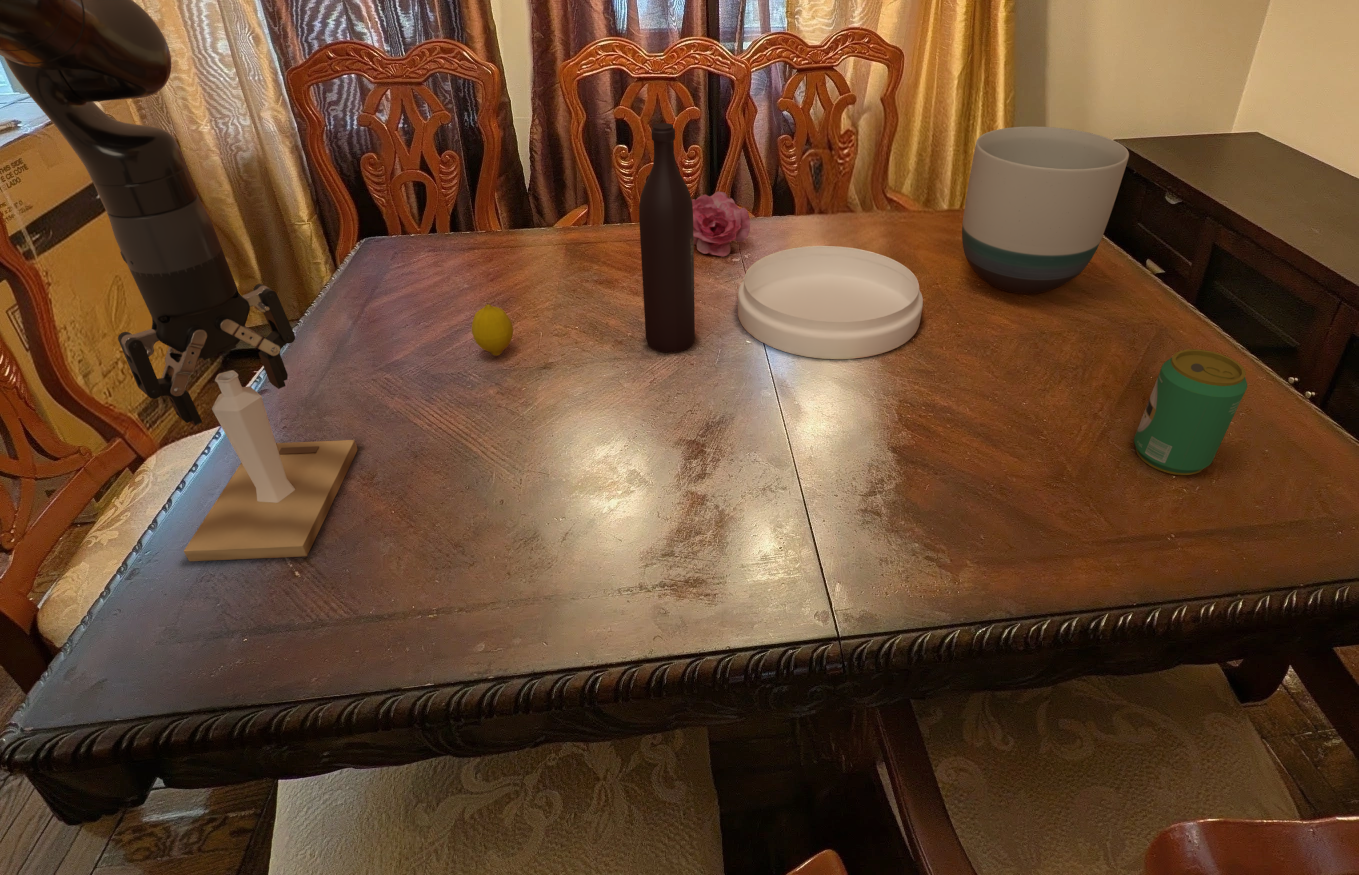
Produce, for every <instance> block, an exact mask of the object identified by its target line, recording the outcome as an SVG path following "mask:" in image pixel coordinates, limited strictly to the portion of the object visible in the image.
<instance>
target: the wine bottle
mask: <svg viewBox="0 0 1359 875" xmlns="http://www.w3.org/2000/svg"><path fill="white" fill-rule="evenodd" d="M650 133H651V141H653V162H652V167H651V170H650V172H649V174H648V177H647V179H646V180H645V183H644V186H643V187H642V191H641V193H640V198H639V205H638V211H639V212H638V221H639V223H638V224H639V240H640V255H641V256H640V257H641V275H642V277H641V278H642V293H643V294H642V295H643V311H644V325H645V326H644V328H645V329H644V330H645V340H646V343H647V345H648V347H649V348H650V349H652V350H654V351H657V352H661V353H678V352H682V351H685V350H687V349H689V348H691V347H692V346H693V344H694V342H695V340H696V317H695V314H696V312H695V306H696V305H695V247H694V236H693V206H692V200H693V199H692V196H691V193H690V190H689V187H688V185H687V183H686V182H685V180H684V178H683V176H682V175H681V172H680V170H679V168H678V166H677V164H676V156H675V144H674V142H675V140H676V129H675V128H674V124H672V123H668V122H659V123H656V124H653V125H652V129H651V132H650Z"/></svg>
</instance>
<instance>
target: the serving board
mask: <svg viewBox="0 0 1359 875" xmlns="http://www.w3.org/2000/svg"><path fill="white" fill-rule="evenodd" d="M276 445H277V449H278V452H279V455H280V458H281V462H282V465H283V468H284V471H285V474H286V478H287V479H288V481H289V482H290V483H291V484H292V486H293V487H294V488H295V490H294V491H293V492H292V493H290V494H289V495H288V496H286V497H285V498H284V499H282V500H281V501H280V502H278V503H272V502H259V501H257V494H256V487H255V485H254V484H253V482H252V480H251V478H250V477H249V475H248V473H247V471H246V469H245V468H244V466H243V464H242V462H241V461H240V462H241V463H240V464H239V465H238V467H237V468H236V470H235V472H234V473H233V475H232V476H231V477H230V479H229V481H228V482H227V484H226V485H225V486H224V488H223V490H222V491H221V492H220V495H219V496H218V497H217V499H216V500H215V502H214V503H213V505H212V507H211V508H210V510H209V511H208V513H207V514H206V516H205V517H204V519H203V521H202V522H201V524H200V525H199V527H198V528H197V530H196V532H195V533H194V534H193V535H192V537H191V539H189V540H190V541H189V542H188V543H187V544H186V546H185V547H184V549H183V553H184V555H185V557H186V558H187V560H188V562H208V561H233V560H253V559H277V558H278V559H279V558H299V557H300V558H301V557H308V555H309V553H310V551H311V549H312V547H313V544H314V543H315V540H316V538H317V537H318V534H319V532H320V530H321V528H322V526H323V524H324V522H325V519H326V517H327V515H328V514H329V511H330V509H331V507H332V504H333V503H334V501H335V498H336V497H337V494H338V492H339V490H340V488H341V486H342V484H343V482H344V480H345V477H346V475H347V473H348V471H349V469H350V467H351V465H352V463H353V461H354V459H355V456H356V454H357V452H358V445H357V443H356V440H355V439H344V440H321V441H320V440H319V441H318V440H317V441H316V440H315V441H295V442H291V441H290V442H276Z"/></svg>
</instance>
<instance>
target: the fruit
mask: <svg viewBox="0 0 1359 875" xmlns="http://www.w3.org/2000/svg"><path fill="white" fill-rule="evenodd" d="M471 333H472V338H473V340H474V341H475V343H476V344H477V346H478V347H480V349H482V350H483V351H485V352H488V353H490V354H491V355H493V356H494V357H495V356H496V357H497V356H501V355H502V353H503V352H504V350H506V348H508V346H510V344H511V342H512V339H513V336H514V326H513V322H512V321H511V319H510V317H509V315H508V314H507V312H505V310H504V309H503V308H501V307H497V306H492V304H490V303H486V304H485V306H484V307H482V308H480V309H479V310H478V311H476V312H475V314H474V316H473V319H472V322H471Z"/></svg>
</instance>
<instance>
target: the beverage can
mask: <svg viewBox="0 0 1359 875" xmlns="http://www.w3.org/2000/svg"><path fill="white" fill-rule="evenodd" d="M1246 375H1247V372H1246V369H1245V368H1244V366H1243V365H1242V364H1241V363H1240V362H1238V361H1237V360H1235V359H1234V358H1232V357H1229V356H1227V355H1225V354H1222V353H1219V352H1216V351H1211V350H1207V349H1197V348H1187V349H1182V350H1179V351H1177V352H1175V353H1174V354H1173V355H1172V356H1171V357H1170V358H1169V359H1167V360H1166V361H1164V363H1163V364H1162V366H1161V367H1160V370H1159V373H1158V376H1157V378H1156V381H1155V383H1154V386H1153V388H1152V391H1151V393H1150V396H1149V399H1148V401H1147V404H1146V406H1145V409H1144V411H1143V414H1142V416H1141V419H1140V422H1139V424H1138V427H1137V429H1136V432H1135V434H1134V437H1133V443H1134V446H1135V452H1136V455H1137V456H1138V457H1139V459H1140V460H1141V461H1143V462H1144V463H1145V464H1146V465H1148V466H1149V467H1151V468H1153V469H1155V470H1158V471H1161V472H1163V473H1167V474H1170V475H1177V476H1191V475H1197V474H1199V473H1201V472H1202V471H1203V470H1204V469H1206V468H1207V467H1209V466H1210V465H1211V464H1212V463H1213V461H1214V459H1215V457H1216V454H1217V452H1218V450H1219V449H1220V446H1221V444H1222V442H1223V441H1224V438H1225V435H1226V433H1227V431H1228V429H1229V427H1230V425H1231V423H1232V421H1233V419H1234V416H1235V415H1236V413H1237V409H1238V408H1239V405H1240V404H1241V402H1242V400H1243V398H1244V395H1245V393H1246V391H1247V389H1248V382H1247V379H1246Z"/></svg>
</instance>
